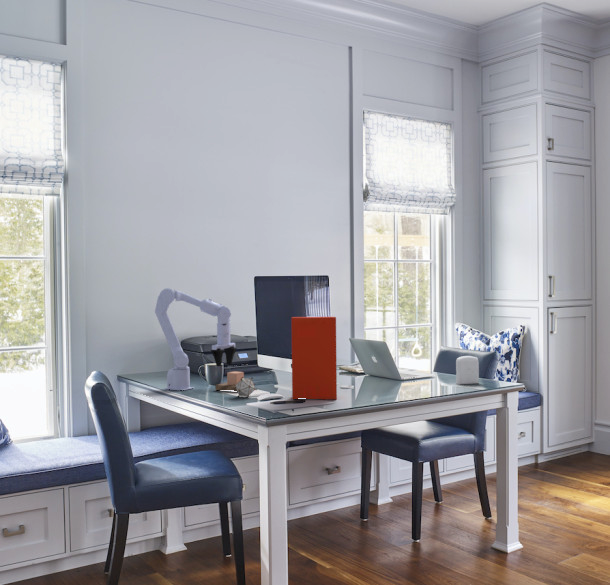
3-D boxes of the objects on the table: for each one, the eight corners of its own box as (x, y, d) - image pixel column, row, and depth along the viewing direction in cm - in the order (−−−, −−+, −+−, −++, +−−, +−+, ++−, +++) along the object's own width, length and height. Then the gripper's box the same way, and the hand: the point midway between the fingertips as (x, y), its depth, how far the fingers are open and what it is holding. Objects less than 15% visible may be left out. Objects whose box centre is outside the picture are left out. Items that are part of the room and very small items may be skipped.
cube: (227, 384, 310) (227, 372, 310) (234, 382, 315) (234, 371, 314) (236, 385, 308) (236, 373, 308) (243, 383, 312) (243, 372, 312)
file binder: (292, 396, 291) (291, 316, 291) (335, 396, 291) (334, 316, 291) (292, 400, 283) (291, 317, 282) (336, 399, 283) (336, 317, 283)
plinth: (215, 390, 309) (215, 385, 309) (232, 387, 319) (232, 381, 319) (238, 392, 303) (238, 386, 303) (254, 389, 313) (254, 383, 313)
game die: (250, 406, 292) (265, 386, 292) (238, 401, 286) (253, 381, 285) (237, 393, 298) (251, 373, 298) (225, 388, 291) (240, 368, 291)
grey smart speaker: (458, 384, 321) (458, 356, 320) (454, 383, 325) (454, 355, 325) (480, 383, 322) (480, 356, 322) (476, 382, 327) (476, 355, 327)
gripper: (221, 335, 309) (221, 367, 309) (240, 333, 322) (241, 363, 322) (207, 334, 313) (208, 366, 313) (227, 332, 325) (228, 363, 325)
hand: (224, 365), depth 318 cm, fingers open, 7 cm apart
